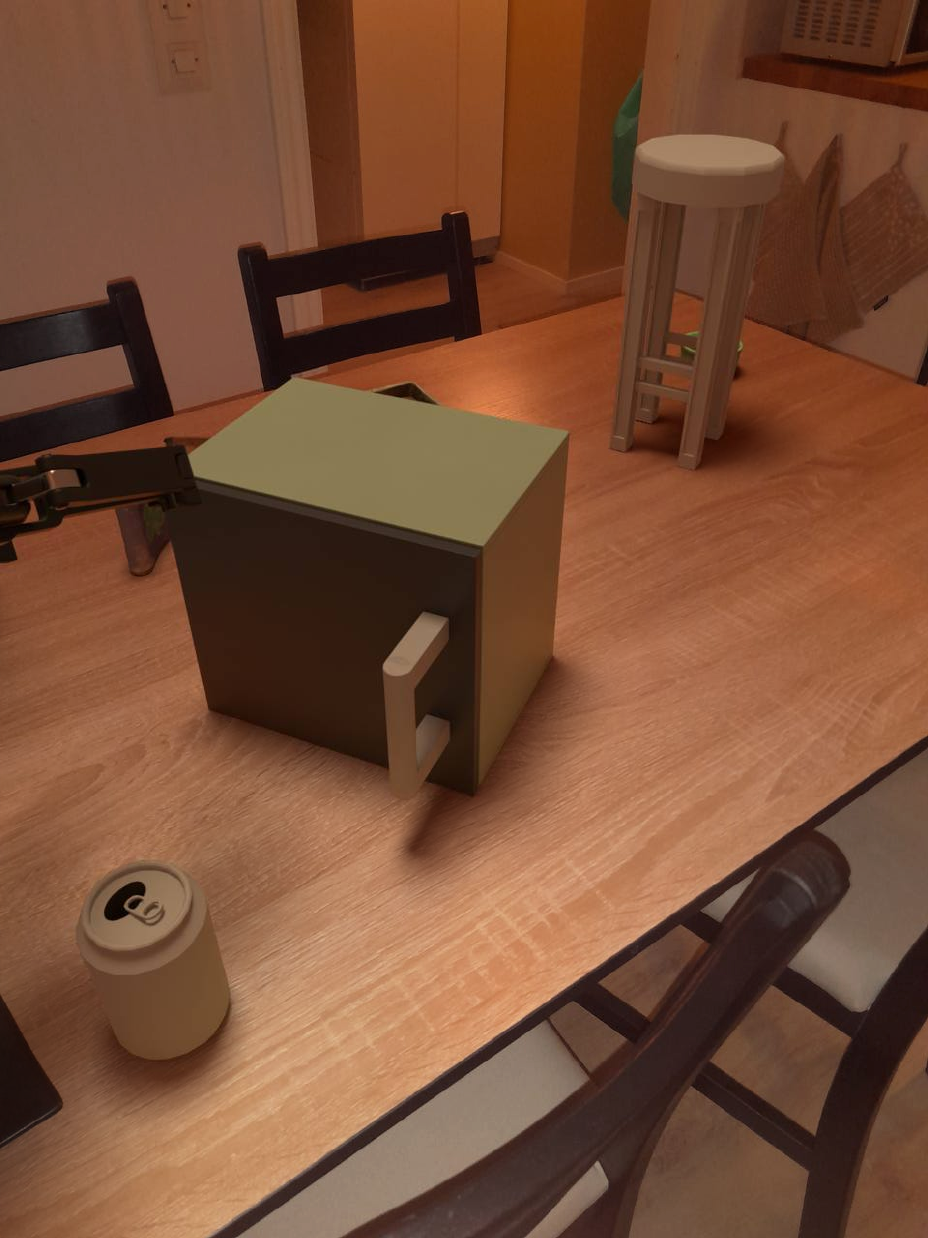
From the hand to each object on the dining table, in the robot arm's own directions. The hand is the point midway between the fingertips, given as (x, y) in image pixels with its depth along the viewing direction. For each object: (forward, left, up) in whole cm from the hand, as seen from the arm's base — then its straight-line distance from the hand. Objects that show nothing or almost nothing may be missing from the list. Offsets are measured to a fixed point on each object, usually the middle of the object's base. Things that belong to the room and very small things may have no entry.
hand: (97, 513), depth 64 cm
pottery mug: (-24, +39, -25) cm, 52 cm away
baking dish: (-5, +54, -25) cm, 60 cm away
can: (+13, -17, -25) cm, 33 cm away
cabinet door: (+11, +5, -25) cm, 28 cm away
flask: (-22, +26, -25) cm, 42 cm away
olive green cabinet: (+11, +18, -25) cm, 33 cm away
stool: (+23, +74, -25) cm, 81 cm away
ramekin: (+23, +98, -25) cm, 104 cm away
